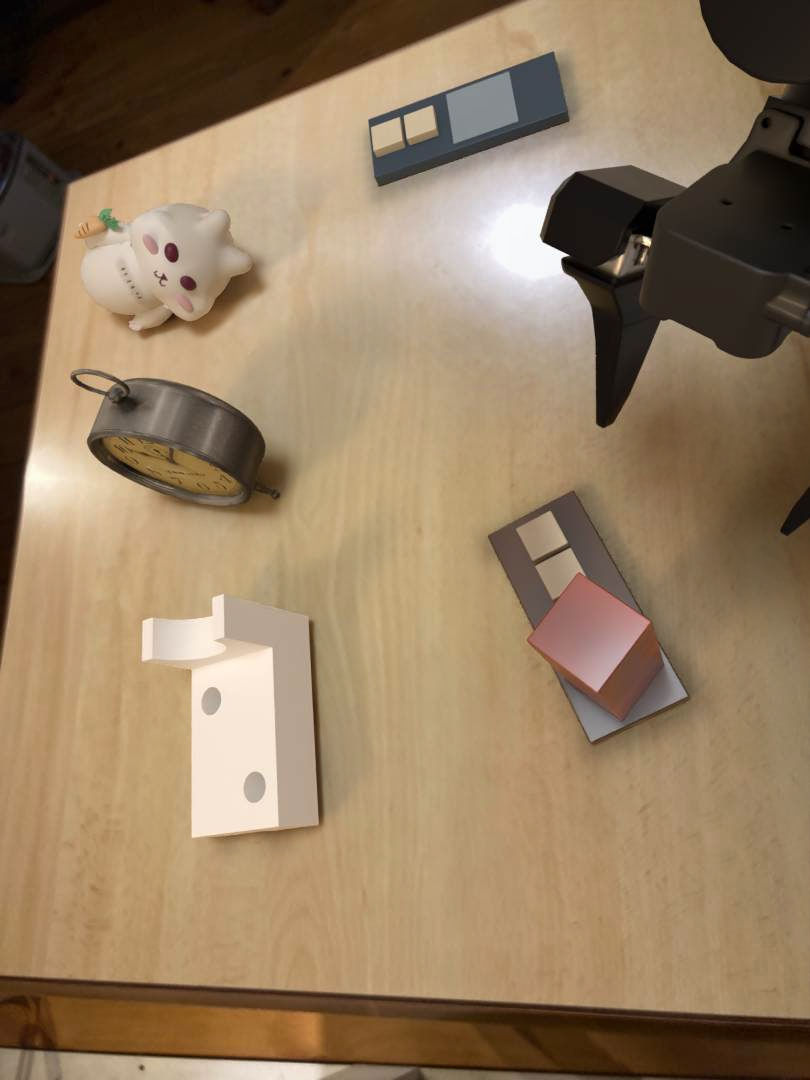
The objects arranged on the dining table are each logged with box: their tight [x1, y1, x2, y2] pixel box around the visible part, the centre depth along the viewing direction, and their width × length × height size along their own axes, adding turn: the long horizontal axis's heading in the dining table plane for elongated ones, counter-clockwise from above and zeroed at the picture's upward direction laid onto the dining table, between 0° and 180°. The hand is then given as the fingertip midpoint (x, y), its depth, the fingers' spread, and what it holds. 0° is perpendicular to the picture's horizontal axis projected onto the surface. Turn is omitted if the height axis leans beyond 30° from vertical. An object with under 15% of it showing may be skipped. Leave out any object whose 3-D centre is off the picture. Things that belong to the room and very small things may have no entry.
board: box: [487, 490, 691, 746], centre depth 49 cm, size 6×14×2 cm, turn 23°
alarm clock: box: [69, 368, 281, 507], centre depth 54 cm, size 11×5×16 cm, turn 76°
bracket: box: [141, 593, 320, 839], centre depth 51 cm, size 13×7×8 cm, turn 5°
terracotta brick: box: [526, 572, 665, 721], centre depth 42 cm, size 4×4×11 cm
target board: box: [367, 51, 570, 187], centre depth 64 cm, size 15×6×2 cm, turn 96°
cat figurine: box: [73, 202, 253, 331], centre depth 65 cm, size 10×8×15 cm
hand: (690, 475), depth 37 cm, fingers open, 9 cm apart
